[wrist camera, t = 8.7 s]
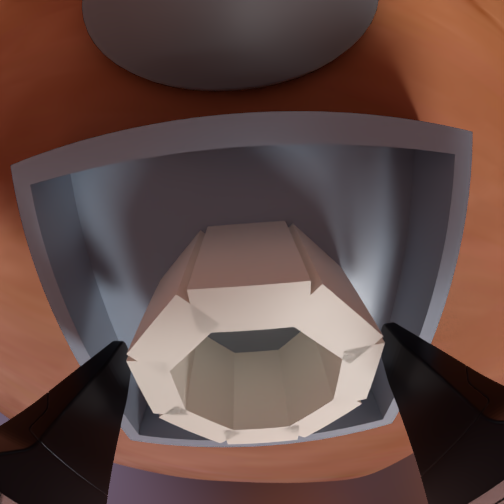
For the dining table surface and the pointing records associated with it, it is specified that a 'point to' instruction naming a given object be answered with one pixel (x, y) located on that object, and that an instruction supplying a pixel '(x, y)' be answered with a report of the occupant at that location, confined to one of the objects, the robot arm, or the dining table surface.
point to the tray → (241, 212)
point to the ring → (254, 318)
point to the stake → (225, 38)
